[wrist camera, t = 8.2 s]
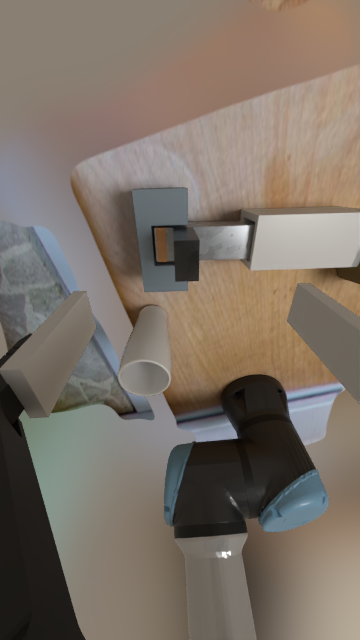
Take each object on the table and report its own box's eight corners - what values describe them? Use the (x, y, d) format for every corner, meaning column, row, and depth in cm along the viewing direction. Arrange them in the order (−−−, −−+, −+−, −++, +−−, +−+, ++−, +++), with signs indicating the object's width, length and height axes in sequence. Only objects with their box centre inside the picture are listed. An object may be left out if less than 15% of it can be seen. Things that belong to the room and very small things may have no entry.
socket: (185, 273, 35) (188, 290, 29) (148, 275, 35) (144, 292, 29) (184, 187, 28) (187, 188, 23) (139, 188, 28) (131, 189, 23)
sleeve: (323, 252, 34) (357, 266, 27) (235, 254, 33) (250, 270, 27) (339, 206, 30) (381, 211, 24) (241, 209, 30) (259, 215, 24)
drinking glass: (129, 304, 37) (108, 365, 25) (166, 296, 37) (164, 354, 24) (141, 334, 41) (127, 400, 28) (175, 327, 40) (177, 392, 28)
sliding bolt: (280, 249, 31) (327, 276, 22) (158, 253, 31) (152, 283, 22) (287, 218, 29) (342, 234, 20) (155, 222, 29) (148, 241, 19)
